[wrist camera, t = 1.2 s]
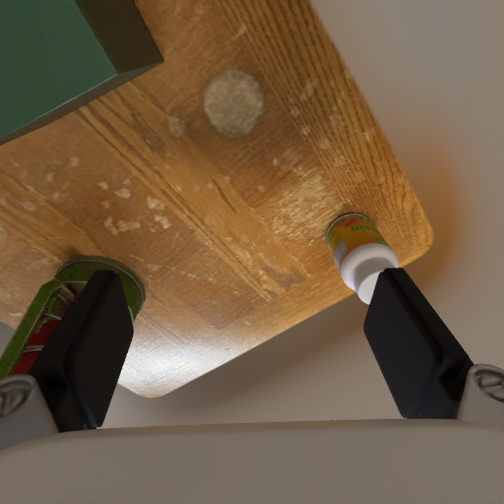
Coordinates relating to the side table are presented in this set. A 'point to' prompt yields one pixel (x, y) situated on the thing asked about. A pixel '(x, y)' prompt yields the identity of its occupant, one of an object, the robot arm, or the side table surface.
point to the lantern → (62, 308)
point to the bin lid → (47, 59)
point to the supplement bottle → (359, 253)
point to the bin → (120, 48)
